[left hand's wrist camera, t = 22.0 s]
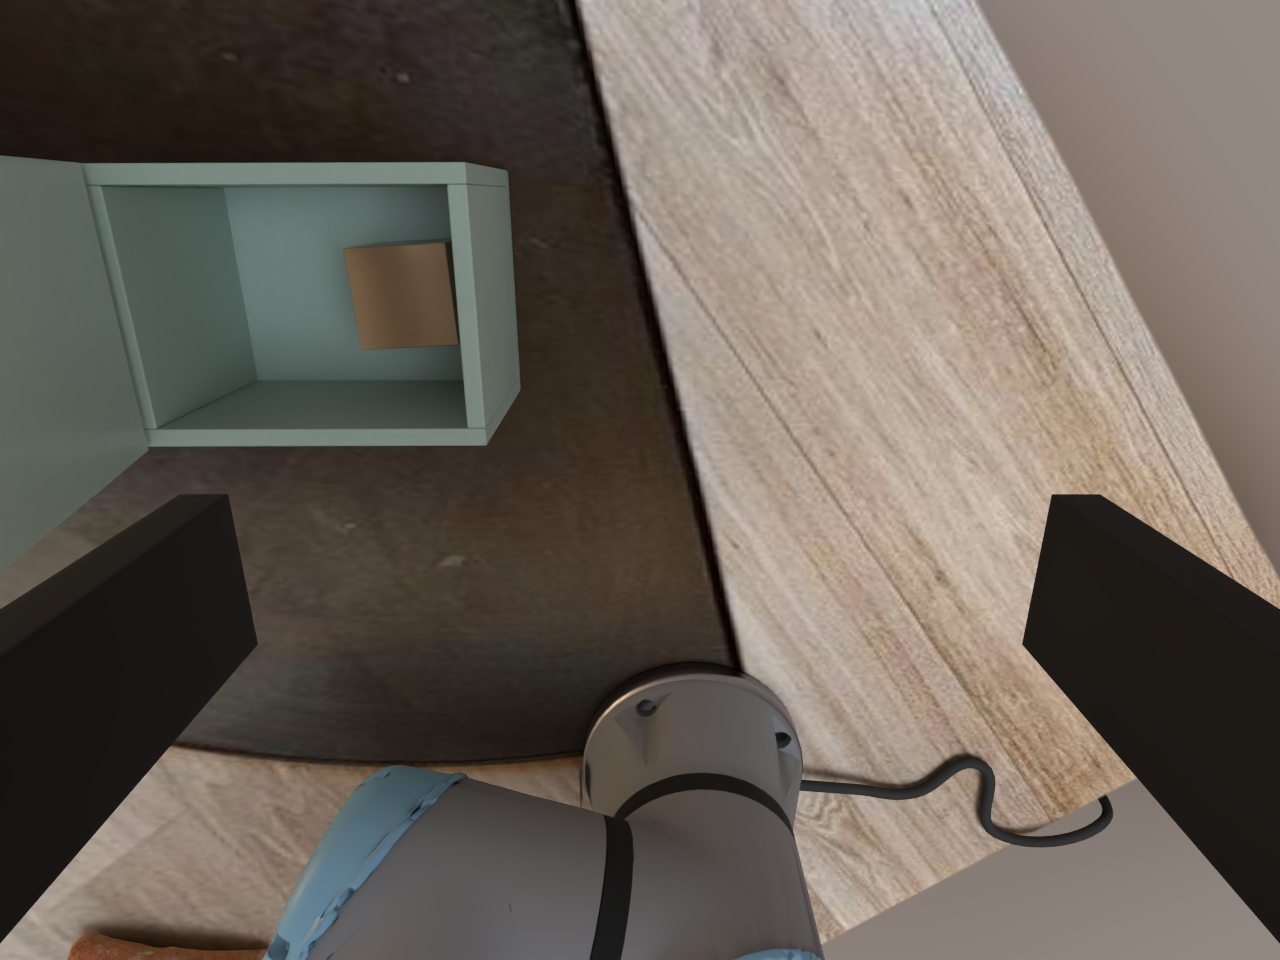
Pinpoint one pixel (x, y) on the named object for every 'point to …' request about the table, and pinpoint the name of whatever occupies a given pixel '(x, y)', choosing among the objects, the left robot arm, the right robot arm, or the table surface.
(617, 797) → the left robot arm
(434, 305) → the block
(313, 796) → the table surface
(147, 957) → the ceramic shard
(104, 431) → the lid
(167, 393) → the chest
